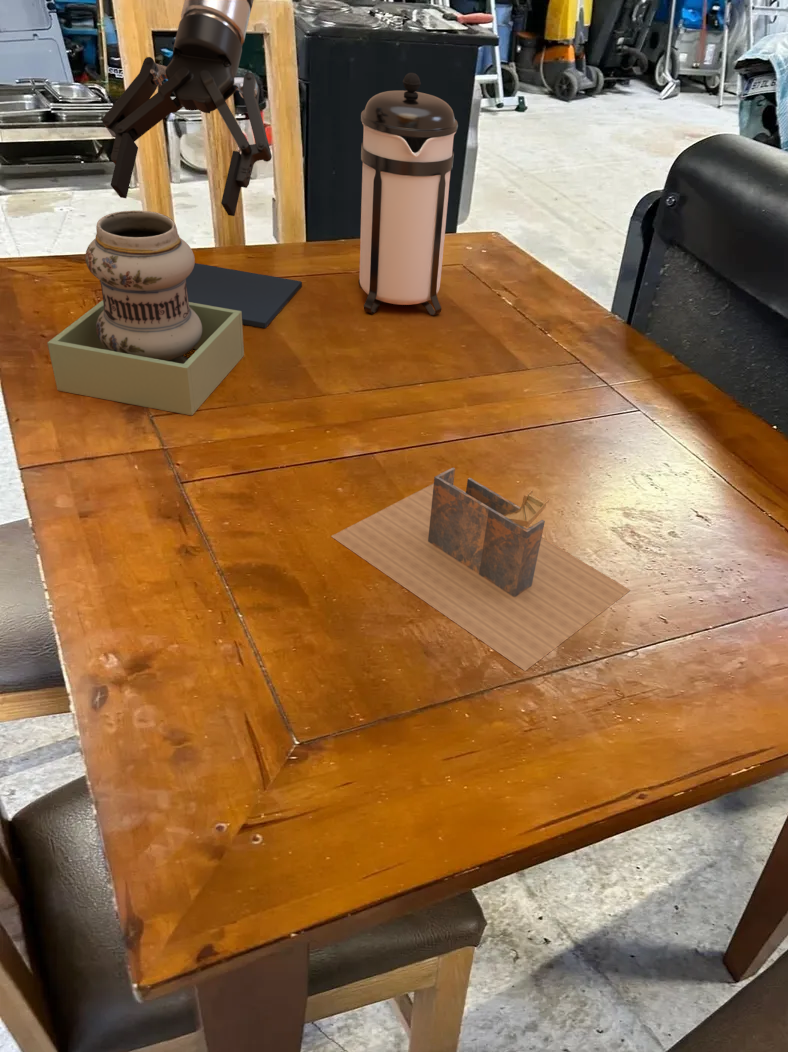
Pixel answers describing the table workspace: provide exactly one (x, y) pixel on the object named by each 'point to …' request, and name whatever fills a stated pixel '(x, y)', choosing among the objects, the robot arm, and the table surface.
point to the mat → (241, 292)
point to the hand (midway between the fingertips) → (172, 201)
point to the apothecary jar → (144, 286)
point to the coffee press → (404, 196)
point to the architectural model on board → (484, 566)
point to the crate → (148, 364)
